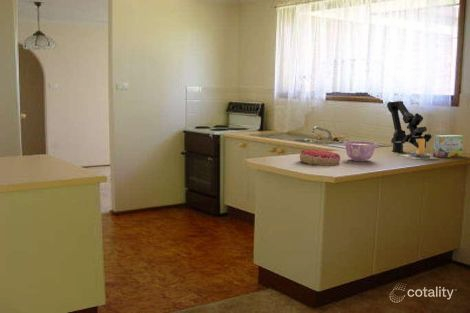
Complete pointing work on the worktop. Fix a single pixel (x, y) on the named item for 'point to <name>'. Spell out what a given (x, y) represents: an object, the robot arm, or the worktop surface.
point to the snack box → (447, 145)
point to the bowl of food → (360, 150)
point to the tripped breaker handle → (420, 146)
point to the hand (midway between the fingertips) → (421, 147)
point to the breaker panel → (419, 156)
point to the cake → (319, 157)
